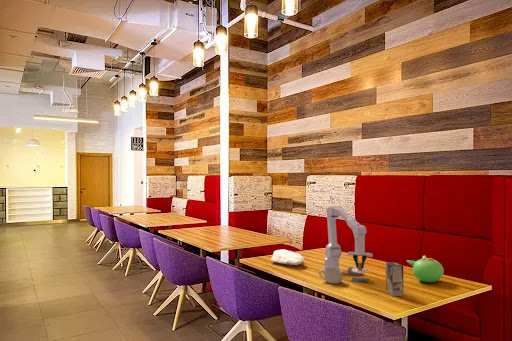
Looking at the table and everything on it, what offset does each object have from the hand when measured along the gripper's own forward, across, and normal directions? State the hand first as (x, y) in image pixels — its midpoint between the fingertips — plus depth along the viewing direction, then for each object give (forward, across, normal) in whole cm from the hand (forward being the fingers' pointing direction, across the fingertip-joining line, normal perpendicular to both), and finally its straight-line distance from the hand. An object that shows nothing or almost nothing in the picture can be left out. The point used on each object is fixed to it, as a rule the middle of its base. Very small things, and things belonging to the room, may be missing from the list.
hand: (359, 267), depth 227 cm
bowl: (+8, -5, +14) cm, 17 cm away
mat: (+8, 0, 0) cm, 8 cm away
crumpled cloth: (+8, -53, +29) cm, 61 cm away
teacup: (+8, -16, -10) cm, 21 cm away
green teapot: (+8, +38, +13) cm, 41 cm away
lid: (+2, 0, 0) cm, 2 cm away
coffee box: (+8, +20, -18) cm, 28 cm away
